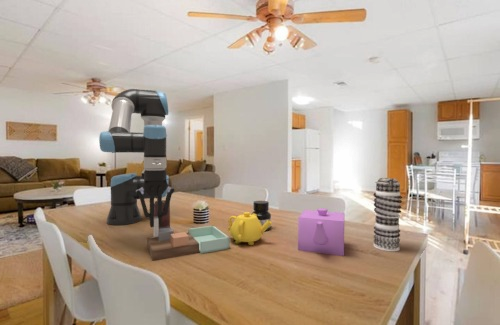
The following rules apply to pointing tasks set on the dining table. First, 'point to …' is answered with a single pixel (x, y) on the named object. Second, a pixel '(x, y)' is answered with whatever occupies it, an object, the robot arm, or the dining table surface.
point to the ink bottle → (262, 212)
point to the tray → (210, 239)
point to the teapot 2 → (321, 232)
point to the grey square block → (165, 234)
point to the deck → (171, 248)
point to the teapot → (247, 228)
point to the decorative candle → (387, 214)
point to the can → (164, 218)
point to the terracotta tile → (179, 239)
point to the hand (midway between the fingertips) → (155, 235)
